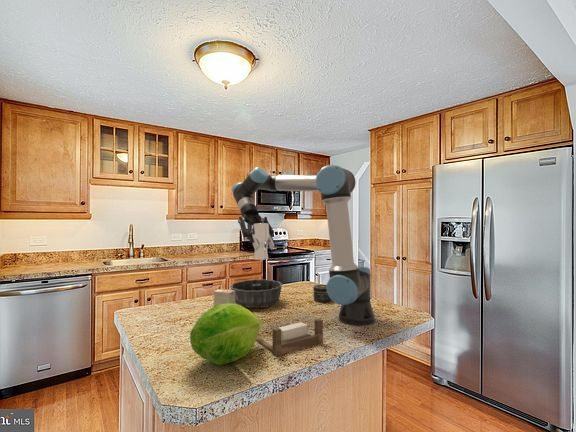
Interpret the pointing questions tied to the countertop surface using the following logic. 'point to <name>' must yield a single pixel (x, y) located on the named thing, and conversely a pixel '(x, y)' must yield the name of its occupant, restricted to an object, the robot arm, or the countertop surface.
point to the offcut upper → (293, 330)
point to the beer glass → (261, 240)
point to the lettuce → (225, 333)
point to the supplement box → (224, 297)
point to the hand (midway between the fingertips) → (265, 247)
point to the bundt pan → (256, 292)
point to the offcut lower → (295, 337)
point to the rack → (295, 344)
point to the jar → (321, 294)
